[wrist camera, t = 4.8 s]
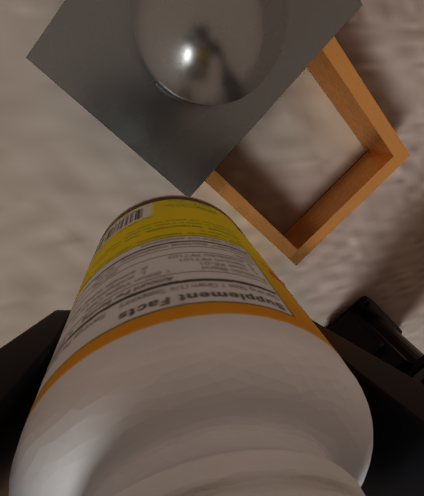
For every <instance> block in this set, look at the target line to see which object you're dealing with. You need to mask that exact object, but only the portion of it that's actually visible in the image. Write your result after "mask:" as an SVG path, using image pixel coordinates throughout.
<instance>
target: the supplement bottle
mask: <svg viewBox="0 0 424 496" xmlns="http://www.w3.org/2000/svg"><path fill="white" fill-rule="evenodd" d="M372 450H373V424H372V418H371V413H370V409H369V406H368V402H367V400H366V398H365V395H364V393H363V390H362V388H361V386H360V385H359V383H358V381H357V379H356V378H355V376H354V375H353V374H352V372H351V371H350V370H349V368H348V367H347V365H346V364H345V363H344V361H343V360H342V358H341V357H340V355H339V354H338V353H337V352H336V350H335V349H334V348H333V347H332V345H331V344H330V343H329V342H328V340H327V339H326V338H325V336H324V335H323V334H322V333H321V331H320V330H319V329H318V328H317V326H316V325H315V324H314V323H313V321H312V320H311V319H310V318H309V316H308V315H307V314H306V312H305V311H304V310H303V309H302V307H301V306H300V305H299V304H298V303H297V301H296V300H295V298H294V297H293V295H292V294H291V293H290V292H289V291H288V290H287V288H286V287H285V285H284V283H283V282H282V281H281V280H279V279H278V277H277V276H276V275H275V273H274V272H273V271H272V269H271V268H270V267H269V266H268V265H267V263H266V262H265V261H264V259H263V258H262V257H261V255H260V254H259V253H258V252H257V251H256V249H255V248H254V247H253V246H252V244H251V243H250V242H249V241H248V239H247V238H246V237H245V235H244V234H243V233H242V232H241V230H240V229H239V228H238V227H237V225H236V224H235V223H234V222H233V221H232V220H231V218H229V217H228V216H227V215H226V214H225V213H224V212H222V211H221V210H220V209H218V208H217V207H215V206H214V205H212V204H210V203H208V202H206V201H203V200H201V199H198V198H194V197H189V196H183V195H166V196H158V197H154V198H150V199H147V200H144V201H142V202H139V203H137V204H135V205H133V206H132V207H130V208H128V209H127V210H125V211H124V212H123V213H121V214H120V215H119V216H118V217H117V218H116V219H115V220H114V221H113V222H112V223H111V225H110V226H109V227H108V229H107V230H106V231H105V233H104V235H103V237H102V239H101V241H100V243H99V245H98V247H97V249H96V252H95V254H94V256H93V259H92V261H91V263H90V265H89V268H88V270H87V273H86V276H85V278H84V281H83V283H82V285H81V287H80V290H79V292H78V295H77V297H76V300H75V302H74V305H73V307H72V309H71V311H70V315H69V317H68V320H67V322H66V325H65V327H64V330H63V332H62V335H61V337H60V339H59V342H58V344H57V347H56V349H55V352H54V354H53V357H52V359H51V362H50V364H49V366H48V368H47V371H46V373H45V376H44V378H43V381H42V383H41V386H40V388H39V391H38V394H37V396H36V399H35V401H34V404H33V406H32V408H31V410H30V413H29V415H28V418H27V420H26V423H25V425H24V428H23V431H22V433H21V436H20V439H19V443H18V446H17V449H16V452H15V455H14V459H13V462H12V466H11V472H10V477H9V496H365V494H364V492H363V491H362V489H361V486H362V484H363V482H364V479H365V477H366V474H367V471H368V468H369V465H370V461H371V455H372Z"/></svg>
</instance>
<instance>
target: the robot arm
mask: <svg viewBox="0 0 424 496" xmlns="http://www.w3.org/2000/svg"><path fill="white" fill-rule="evenodd" d="M365 302H366V303H365ZM70 311H71V310H56V311H54V312H53V313H51V314H50V315H48V316H47V317H45V318H44V319H42V320H41V321H40V322H38V323H37V324H35V325H34V326H32V327H31V328H29V329H28V330H26V331H25V332H23V333H22V334H20V335H19V336H18V337H16V338H15V339H13V340H12V341H10V342H9V343H7V344H6V345H4V346H3V347H1V348H0V496H9V477H10V472H11V466H12V462H13V459H14V455H15V452H16V449H17V446H18V443H19V439H20V436H21V433H22V431H23V428H24V425H25V423H26V420H27V418H28V415H29V413H30V410H31V408H32V406H33V404H34V401H35V399H36V396H37V394H38V391H39V388H40V386H41V383H42V381H43V378H44V376H45V373H46V371H47V368H48V366H49V364H50V362H51V359H52V357H53V354H54V352H55V349H56V347H57V344H58V342H59V339H60V337H61V335H62V332H63V330H64V327H65V325H66V322H67V320H68V317H69V315H70ZM312 321H313V320H312ZM313 323H314V324H315V325H316V326H317V328H318V329H319V330H320V331H321V333H322V334H323V335H324V336H325V338H326V339H327V340H328V342H329V343H330V344H331V345H332V347H333V348H334V349H335V350H336V352H337V353H338V354H339V355H340V357H341V358H342V360H343V361H344V363H345V364H346V365H347V367H348V368H349V370H350V371H351V372H352V374H353V375H354V376H355V378H356V379H357V381H358V383H359V385H360V386H361V388H362V390H363V393H364V395H365V398H366V400H367V402H368V406H369V409H370V413H371V418H372V424H373V450H372V455H371V461H370V465H369V468H368V471H367V474H366V477H365V479H364V482H363V484H362V486H361V489H362V491H363V492H364V494H365V496H424V354H423V353H422V352H420V351H419V350H418V349H417V348H416V347H415V346H414V345H413V344H411V343H410V342H409V341H408V340H407V339H406V338H405V337H403V336H402V335H401V334H402V331H401V329H400V328H399V327H398V326H397V325H396V324H395V323H394V322H393V321H392V320H391V319H390V318H389V317H388V316H387V315H386V314H385V313H384V312H383V311H382V310H381V309H380V308H379V307H378V306H377V305H376V304H375V303H374V302H373V301H372V300H371V299H370V298H369V297H367V296H364V297H362V298H361V299H360V300H358V301H357V302H356V303H355V304H354V305H353V306H352V307H351V308H349V309H348V310H347V311H346V312H345V313H344V314H343V315H342V316H340V317H339V318H338V319H337V320H336V321H335V322H334V323H333V324H332V325H330V326H329V327H328V328H325V327H323V326H321V325H320V324H318V323H316V322H314V321H313Z"/></svg>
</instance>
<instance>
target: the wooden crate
mask: <svg viewBox="0 0 424 496" xmlns="http://www.w3.org/2000/svg"><path fill="white" fill-rule="evenodd" d="M361 6H362V3H361V2H360V0H65V2H64V3H63V5H62V6H61V8H60V9H59V10H58V12H57V13H56V15H55V16H54V18H53V19H52V21H51V22H50V23H49V25H48V26H47V28H46V29H45V31H44V32H43V34H42V35H41V36H40V38H39V39H38V41H37V42H36V44H35V45H34V47H33V48H32V49H31V51H30V52H29V54H28V55H27V57H26V58H27V59H28V60H29V61H31V62H32V63H33V64H34V65H35V66H36V67H38V68H39V69H40V70H41V71H42V72H43V73H45V74H46V75H47V76H48V77H49V78H50V79H51V80H53V81H54V82H55V83H56V84H57V85H58V86H60V87H61V88H62V89H63V90H64V91H65V92H66V93H68V94H69V95H70V96H71V97H72V98H73V99H75V100H76V101H77V102H78V103H79V104H80V105H82V106H83V107H84V108H85V109H86V110H87V111H88V112H90V113H91V114H92V115H93V116H94V117H95V118H97V119H98V120H99V121H100V122H101V123H102V124H104V125H105V126H106V127H107V128H108V129H109V130H110V131H112V132H113V133H114V134H115V135H116V136H117V137H119V138H120V139H121V140H122V141H123V142H124V143H125V144H127V145H128V146H129V147H130V148H131V149H132V150H134V151H135V152H136V153H137V154H138V155H139V156H141V157H142V158H143V159H144V160H145V161H146V162H147V163H149V164H150V165H151V166H152V167H153V168H154V169H156V170H157V171H158V172H159V173H160V174H161V175H162V176H164V177H165V178H166V179H167V180H168V181H169V182H171V183H172V184H173V185H174V186H175V187H176V188H178V189H179V190H180V191H181V192H182V193H183V194H184V195H186V196H189V197H190V196H191V195H192V194H193V193H194V192H195V191H196V190H197V189H198V187H199V186H200V185H201V184H202V183H203V182H204V181H205V182H207V183H208V184H209V185H210V186H211V187H212V188H213V189H214V190H215V191H216V192H217V193H218V194H220V195H221V196H222V197H223V198H224V199H225V200H226V201H227V202H228V203H229V204H230V205H231V206H233V207H234V208H235V209H236V210H237V211H238V212H239V213H240V214H241V215H242V216H243V217H244V218H246V219H247V220H248V221H249V222H250V223H251V224H252V225H253V226H254V227H255V228H256V229H257V230H259V231H260V232H261V233H262V234H263V235H264V236H265V237H266V238H267V239H268V240H269V241H270V242H272V243H273V244H274V245H275V246H276V247H277V248H278V249H279V250H280V251H281V252H282V253H283V254H285V255H286V256H287V257H288V258H289V259H290V260H291V261H292V262H293V263H294V264H295V265H297V264H298V263H299V262H300V261H301V260H302V259H303V258H304V257H305V256H306V255H307V254H309V253H310V252H311V251H312V250H313V249H314V248H315V247H316V246H317V245H318V244H319V243H320V242H321V241H322V240H323V239H324V238H325V237H326V236H327V235H328V234H329V233H330V232H331V231H332V230H333V229H334V228H335V227H336V226H337V225H339V224H340V223H341V222H342V221H343V220H344V219H345V218H346V217H347V216H348V215H349V214H350V213H351V212H352V211H353V210H354V209H355V208H356V207H357V206H358V205H359V204H360V203H361V202H362V201H363V200H364V199H365V198H366V197H368V196H369V195H370V194H371V193H372V192H373V191H374V190H375V189H376V188H377V187H378V186H379V185H380V184H381V183H382V182H383V181H384V180H385V179H386V178H387V177H388V176H389V175H390V174H391V173H392V172H393V171H394V170H395V169H396V168H398V167H399V166H400V165H401V164H402V163H403V162H404V161H405V160H406V159H407V158H408V157H409V156H410V154H409V153H408V151H407V150H406V148H405V147H404V145H403V144H402V142H401V140H400V139H399V137H398V136H397V134H396V133H395V131H394V129H393V128H392V126H391V125H390V123H389V122H388V120H387V118H386V117H385V115H384V114H383V112H382V111H381V109H380V107H379V106H378V104H377V103H376V101H375V100H374V98H373V96H372V95H371V93H370V92H369V90H368V89H367V87H366V86H365V84H364V82H363V81H362V79H361V78H360V76H359V75H358V73H357V71H356V70H355V68H354V67H353V65H352V64H351V62H350V60H349V59H348V57H347V56H346V54H345V53H344V51H343V49H342V48H341V46H340V45H339V43H338V42H337V40H336V39H335V37H334V36H335V35H336V34H337V32H338V31H339V30H340V29H341V28H342V27H343V26H344V25H345V24H346V22H347V21H348V20H349V19H350V18H351V17H352V16H353V15H354V13H355V12H356V11H357V10H358V9H359V8H360V7H361ZM306 67H307V68H308V69H309V70H310V72H311V73H312V75H313V76H314V77H315V79H316V80H317V82H318V83H319V84H320V86H321V87H322V89H323V90H324V91H325V93H326V94H327V96H328V97H329V98H330V100H331V101H332V103H333V104H334V105H335V107H336V108H337V110H338V111H339V112H340V114H341V115H342V117H343V118H344V119H345V121H346V122H347V124H348V125H349V126H350V128H351V129H352V131H353V132H354V133H355V135H356V136H357V138H358V139H359V140H360V142H361V143H362V145H363V146H364V147H365V149H366V150H367V152H366V153H365V154H364V155H363V156H362V157H361V158H360V159H359V160H358V161H357V162H356V163H355V164H354V165H353V166H352V167H351V168H350V169H349V170H348V171H347V172H346V173H345V174H344V175H343V176H342V177H341V178H340V179H339V180H338V181H337V182H336V183H335V184H334V185H333V186H332V187H331V188H330V189H329V190H328V191H327V192H326V193H325V194H324V195H323V196H322V197H321V198H320V199H319V200H318V201H317V202H316V203H315V204H314V205H313V206H312V207H311V208H310V209H309V210H308V211H307V212H306V213H305V214H304V215H303V216H302V217H301V218H300V219H299V220H298V221H297V222H296V223H295V224H294V225H293V226H292V227H291V228H290V229H289V230H288V231H287V232H286V233H285V234H284V235H282V234H281V233H280V232H279V231H278V230H277V229H276V228H274V227H273V226H272V225H271V224H270V223H269V222H268V221H267V220H266V219H265V218H264V217H263V216H262V215H261V214H260V213H259V212H258V211H257V210H256V209H255V208H254V207H253V206H252V205H251V204H249V203H248V202H247V201H246V200H245V199H244V198H243V197H242V196H241V195H240V194H239V193H238V192H237V191H236V190H235V189H234V188H233V187H232V186H231V185H230V184H229V183H228V182H227V181H226V180H224V179H223V178H222V177H221V176H220V175H219V174H218V173H217V172H216V171H215V168H216V167H217V166H218V165H219V164H220V163H221V162H222V161H223V160H224V158H225V157H226V156H227V155H228V154H229V153H230V152H231V151H232V150H233V148H234V147H235V146H236V145H237V144H238V143H239V142H240V141H241V139H242V138H243V137H244V136H245V135H246V134H247V133H248V132H249V131H250V129H251V128H252V127H253V126H254V125H255V124H256V123H257V122H258V121H259V119H260V118H261V117H262V116H263V115H264V114H265V113H266V112H267V110H268V109H269V108H270V107H271V106H272V105H273V104H274V103H275V102H276V100H277V99H278V98H279V97H280V96H281V95H282V94H283V93H284V92H285V90H286V89H287V88H288V87H289V86H290V85H291V84H292V83H293V81H294V80H295V79H296V78H297V77H298V76H299V75H300V74H301V73H302V71H303V70H304V69H305V68H306Z"/></svg>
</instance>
